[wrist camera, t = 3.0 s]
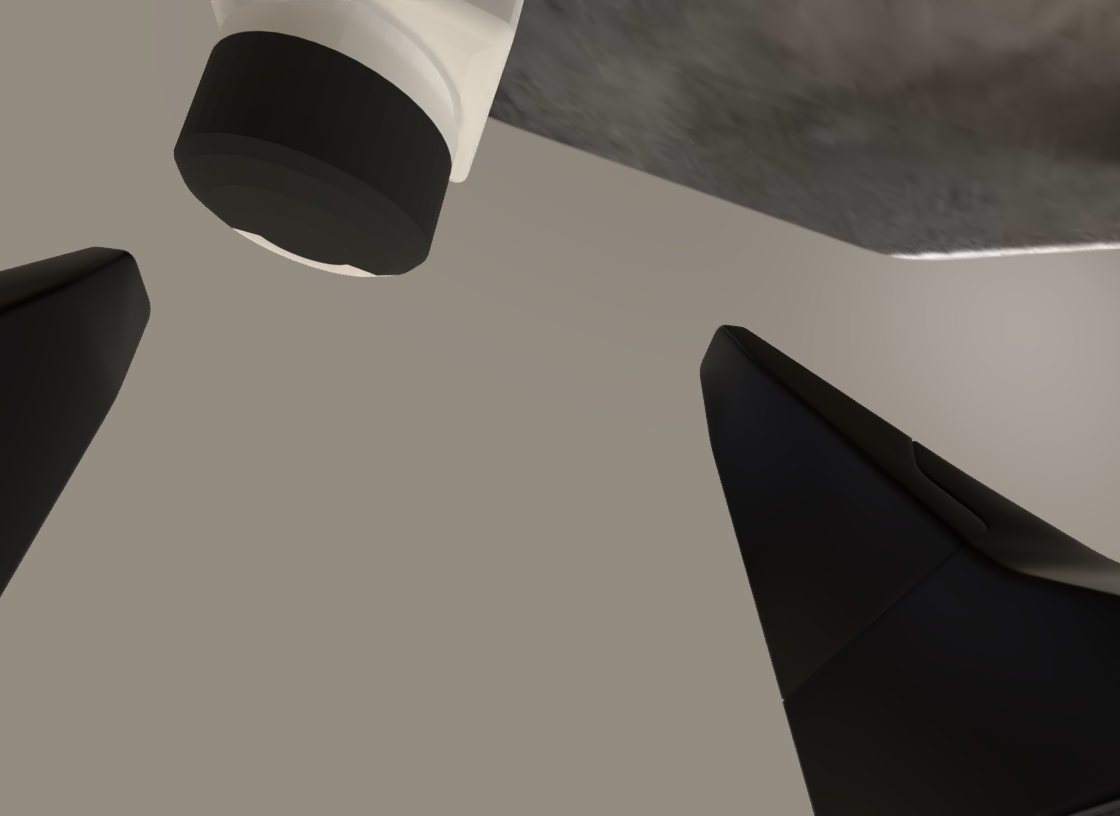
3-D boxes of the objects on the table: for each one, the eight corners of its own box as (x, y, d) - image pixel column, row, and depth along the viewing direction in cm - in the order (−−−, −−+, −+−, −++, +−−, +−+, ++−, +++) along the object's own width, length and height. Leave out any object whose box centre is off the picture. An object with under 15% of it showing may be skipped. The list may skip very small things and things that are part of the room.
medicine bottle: (272, -390, 12) (64, 92, 10) (577, -199, 14) (462, 233, 12) (307, -79, 19) (189, 247, 16) (509, 19, 21) (428, 320, 18)
